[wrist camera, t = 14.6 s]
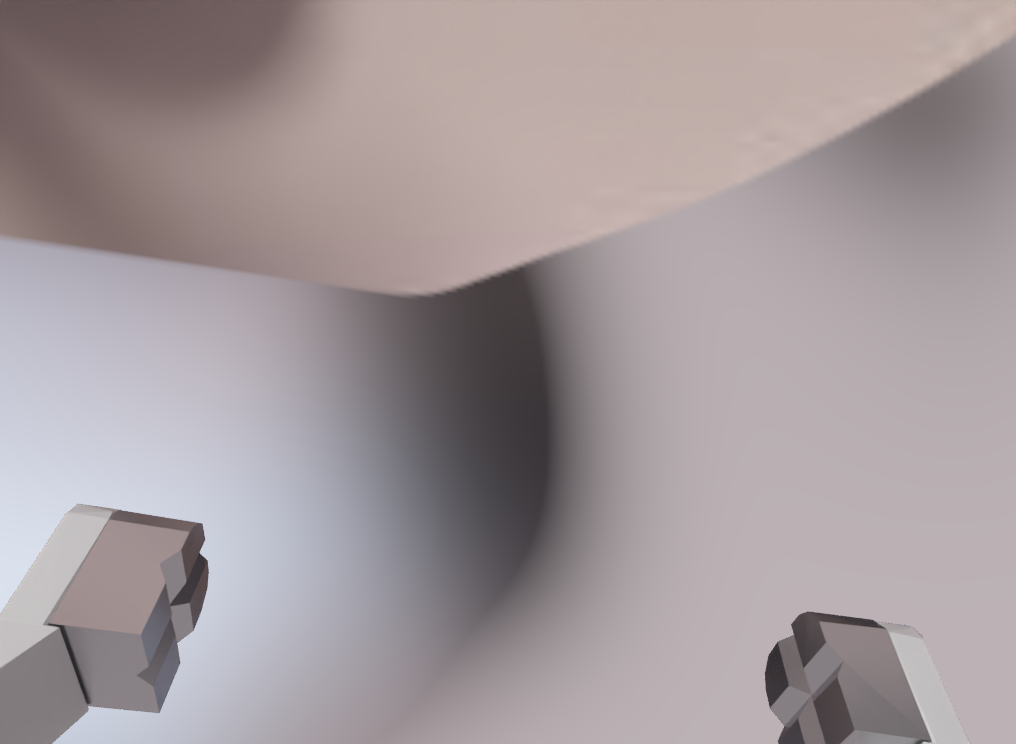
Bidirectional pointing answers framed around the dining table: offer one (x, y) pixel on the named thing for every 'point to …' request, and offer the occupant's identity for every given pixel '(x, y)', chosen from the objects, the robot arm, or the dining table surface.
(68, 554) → the robot arm
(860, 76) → the dining table surface
